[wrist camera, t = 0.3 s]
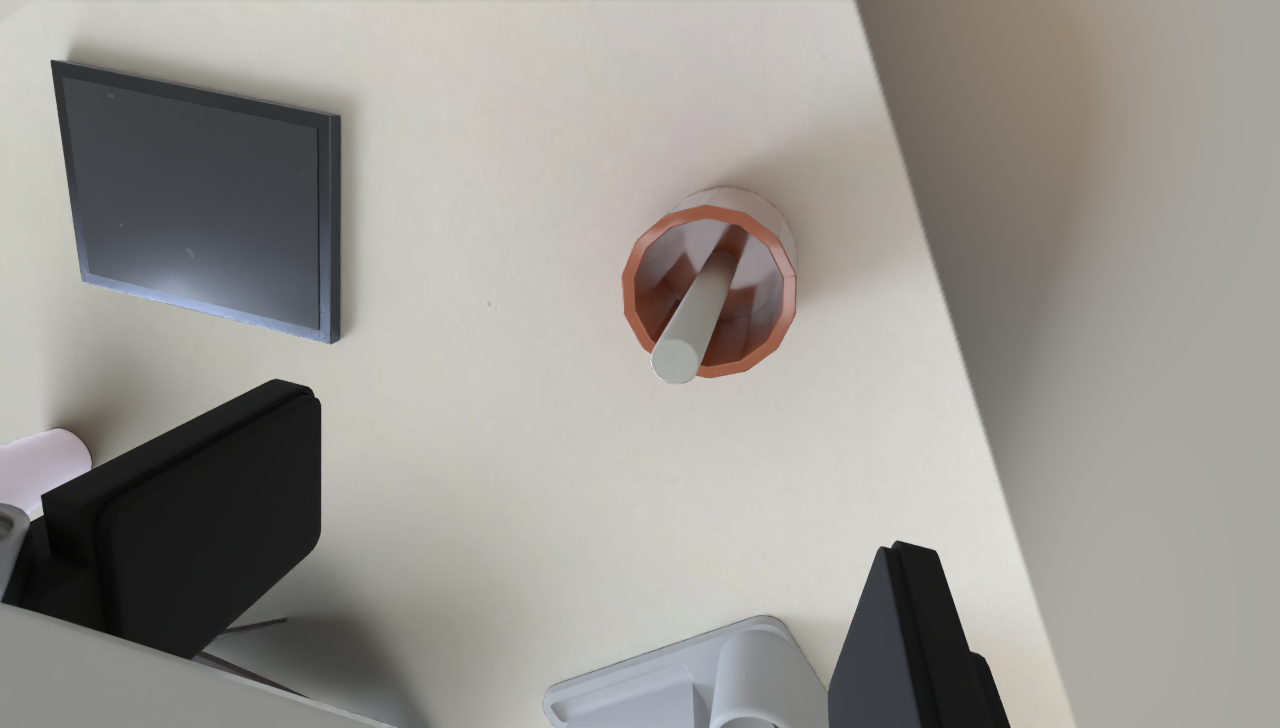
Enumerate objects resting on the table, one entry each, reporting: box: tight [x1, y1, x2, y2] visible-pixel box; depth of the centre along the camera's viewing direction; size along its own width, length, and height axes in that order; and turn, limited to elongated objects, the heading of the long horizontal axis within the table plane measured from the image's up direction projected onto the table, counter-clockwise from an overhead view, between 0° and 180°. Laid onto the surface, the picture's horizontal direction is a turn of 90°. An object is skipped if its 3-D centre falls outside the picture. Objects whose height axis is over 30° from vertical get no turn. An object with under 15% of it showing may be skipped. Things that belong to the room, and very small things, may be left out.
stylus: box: [651, 250, 737, 384], centre depth 26 cm, size 1×1×14 cm
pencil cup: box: [621, 187, 797, 378], centre depth 29 cm, size 7×7×7 cm
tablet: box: [51, 60, 340, 344], centre depth 37 cm, size 12×16×1 cm
